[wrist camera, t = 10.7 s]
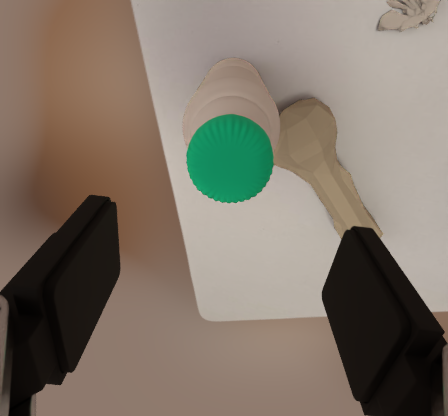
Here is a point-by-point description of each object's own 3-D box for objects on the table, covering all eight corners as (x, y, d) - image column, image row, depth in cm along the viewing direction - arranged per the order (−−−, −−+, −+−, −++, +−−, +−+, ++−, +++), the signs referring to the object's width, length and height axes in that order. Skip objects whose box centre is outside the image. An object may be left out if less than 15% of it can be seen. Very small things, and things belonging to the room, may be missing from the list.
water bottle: (204, 118, 39) (166, 224, 18) (203, 56, 36) (155, 95, 14) (259, 119, 39) (289, 228, 18) (264, 57, 36) (309, 99, 14)
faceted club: (320, 72, 36) (396, 219, 46) (258, 109, 40) (340, 235, 51) (320, 103, 29) (408, 265, 40) (246, 143, 34) (342, 279, 44)
